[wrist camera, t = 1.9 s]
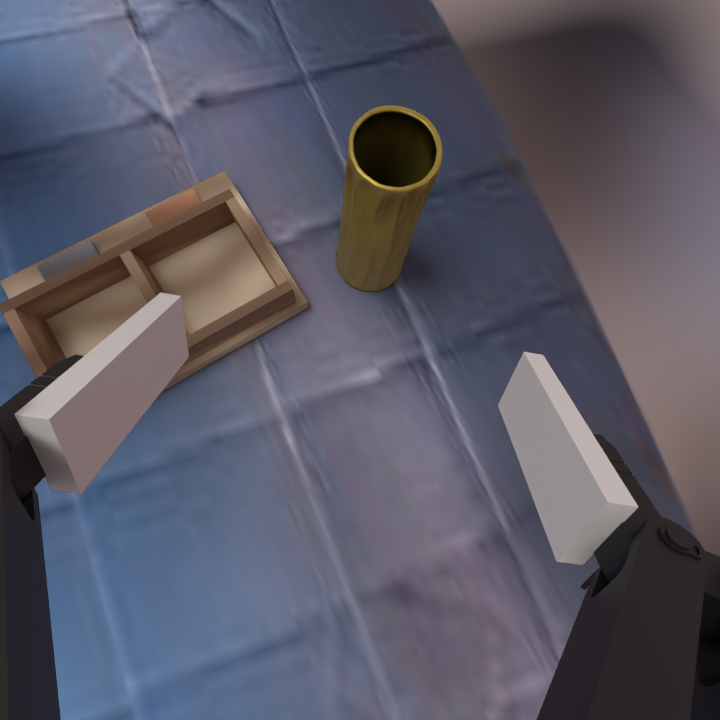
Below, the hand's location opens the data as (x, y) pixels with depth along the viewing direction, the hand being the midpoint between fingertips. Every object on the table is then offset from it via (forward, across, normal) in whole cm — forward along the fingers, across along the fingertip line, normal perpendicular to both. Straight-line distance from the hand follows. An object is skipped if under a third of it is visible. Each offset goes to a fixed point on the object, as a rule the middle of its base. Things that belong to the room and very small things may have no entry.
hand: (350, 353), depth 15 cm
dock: (+16, -16, -8) cm, 24 cm away
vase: (+21, +1, -4) cm, 22 cm away
